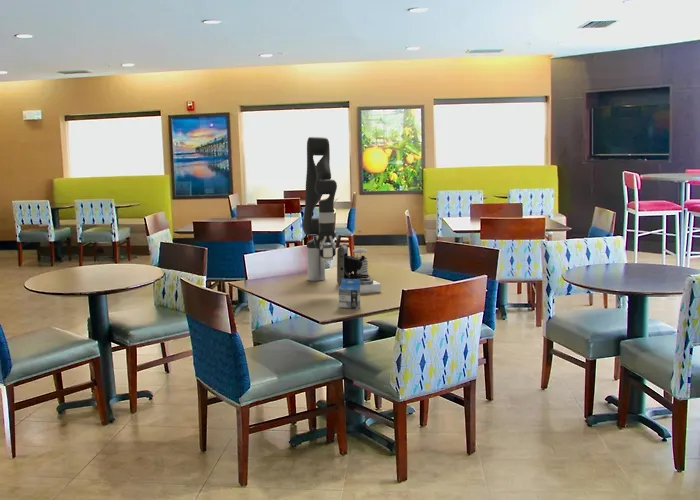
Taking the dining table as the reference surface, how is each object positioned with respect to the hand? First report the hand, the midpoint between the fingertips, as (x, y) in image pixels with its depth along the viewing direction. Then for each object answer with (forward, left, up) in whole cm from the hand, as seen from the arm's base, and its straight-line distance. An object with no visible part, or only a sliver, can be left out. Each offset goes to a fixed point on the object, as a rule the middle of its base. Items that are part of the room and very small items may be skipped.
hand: (327, 256), depth 340 cm
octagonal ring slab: (+6, +16, -17) cm, 24 cm away
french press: (-34, +26, -17) cm, 46 cm away
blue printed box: (+37, 0, -17) cm, 41 cm away
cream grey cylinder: (0, 0, -2) cm, 2 cm away
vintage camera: (-15, +17, -17) cm, 29 cm away
